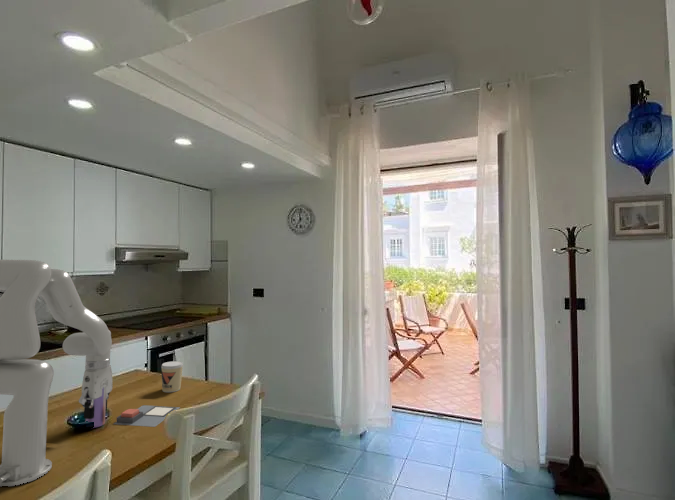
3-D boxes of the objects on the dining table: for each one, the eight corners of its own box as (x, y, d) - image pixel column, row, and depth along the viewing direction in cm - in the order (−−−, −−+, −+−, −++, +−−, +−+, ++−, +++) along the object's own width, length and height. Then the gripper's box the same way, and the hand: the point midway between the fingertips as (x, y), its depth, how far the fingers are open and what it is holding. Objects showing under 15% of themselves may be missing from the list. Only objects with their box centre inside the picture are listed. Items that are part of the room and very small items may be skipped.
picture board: (154, 429, 134) (155, 421, 134) (112, 426, 136) (113, 418, 136) (180, 409, 152) (180, 402, 152) (142, 407, 154) (143, 400, 154)
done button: (131, 419, 138) (132, 413, 138) (121, 418, 138) (121, 413, 138) (138, 414, 142) (139, 409, 142) (128, 414, 142) (128, 408, 142)
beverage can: (95, 431, 132) (97, 388, 132) (80, 429, 133) (82, 386, 134) (108, 424, 138) (110, 383, 138) (95, 422, 139) (96, 381, 139)
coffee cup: (155, 391, 172) (156, 365, 173) (170, 385, 181) (171, 360, 182) (172, 394, 170) (173, 367, 170) (186, 387, 179) (187, 362, 179)
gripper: (89, 371, 127) (87, 425, 127) (123, 358, 144) (121, 406, 144) (69, 370, 128) (66, 424, 127) (104, 357, 145) (102, 404, 144)
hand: (95, 414), depth 135 cm, fingers closed on beverage can, 6 cm apart
